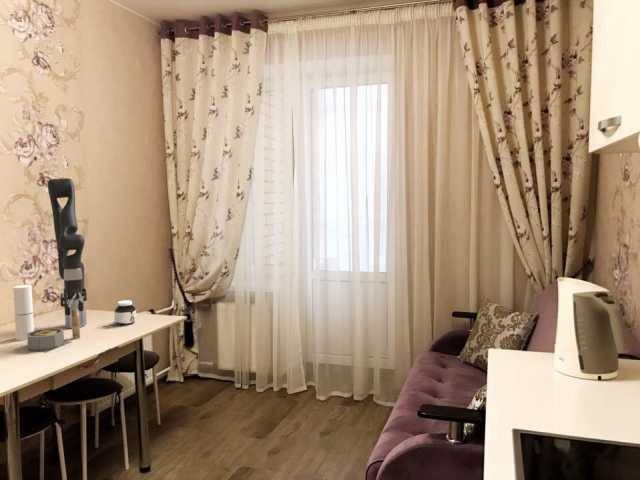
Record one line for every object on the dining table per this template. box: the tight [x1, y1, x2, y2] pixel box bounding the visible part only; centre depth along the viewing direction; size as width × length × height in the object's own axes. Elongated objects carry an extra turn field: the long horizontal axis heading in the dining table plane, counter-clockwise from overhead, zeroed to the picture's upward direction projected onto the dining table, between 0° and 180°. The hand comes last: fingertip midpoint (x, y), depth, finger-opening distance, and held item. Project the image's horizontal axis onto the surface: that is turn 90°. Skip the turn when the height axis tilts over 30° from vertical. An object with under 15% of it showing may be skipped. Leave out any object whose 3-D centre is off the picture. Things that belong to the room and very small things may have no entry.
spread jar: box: [114, 300, 137, 327], centre depth 260 cm, size 12×11×12 cm
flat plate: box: [18, 340, 73, 353], centre depth 218 cm, size 16×14×1 cm
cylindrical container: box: [13, 284, 35, 342], centre depth 228 cm, size 7×7×25 cm
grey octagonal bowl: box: [26, 327, 65, 351], centre depth 218 cm, size 14×14×6 cm
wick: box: [71, 309, 81, 340], centre depth 229 cm, size 3×3×14 cm
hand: (74, 313), depth 228 cm, fingers open, 8 cm apart
